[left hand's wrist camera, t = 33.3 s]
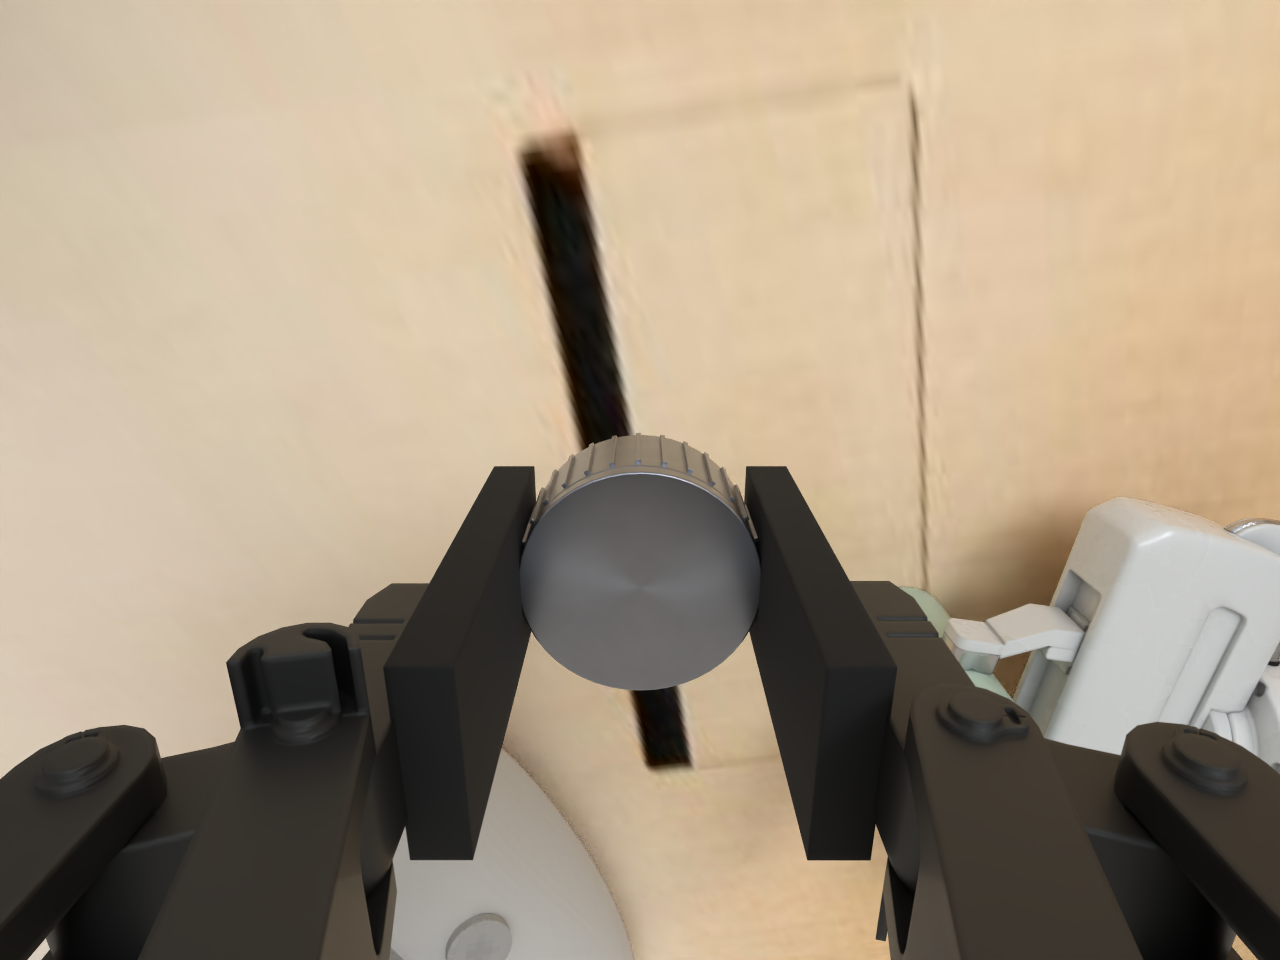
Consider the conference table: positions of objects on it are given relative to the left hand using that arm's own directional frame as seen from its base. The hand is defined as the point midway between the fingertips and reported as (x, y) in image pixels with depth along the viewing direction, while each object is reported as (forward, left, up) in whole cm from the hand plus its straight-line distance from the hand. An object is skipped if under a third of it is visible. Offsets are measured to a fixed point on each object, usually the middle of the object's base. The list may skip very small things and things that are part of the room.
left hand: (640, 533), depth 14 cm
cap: (0, 0, +2) cm, 2 cm away
